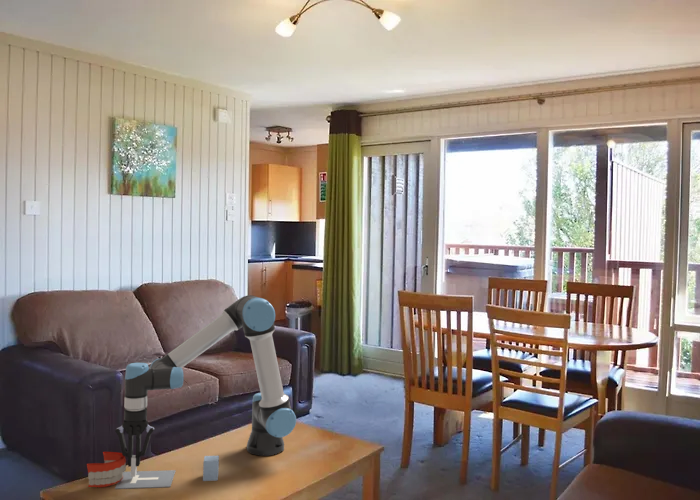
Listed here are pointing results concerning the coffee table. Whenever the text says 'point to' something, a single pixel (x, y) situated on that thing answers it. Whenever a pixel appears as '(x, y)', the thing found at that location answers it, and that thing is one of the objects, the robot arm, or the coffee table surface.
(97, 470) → the toy
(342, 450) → the coffee table surface
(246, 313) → the robot arm
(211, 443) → the coffee table surface
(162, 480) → the letter card
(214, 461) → the block
